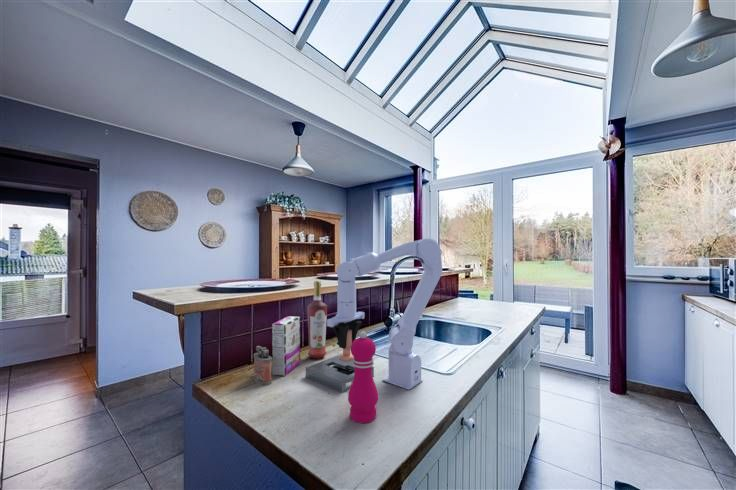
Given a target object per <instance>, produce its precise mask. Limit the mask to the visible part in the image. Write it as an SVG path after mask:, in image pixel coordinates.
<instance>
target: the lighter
mask: <svg viewBox="0 0 736 490" xmlns="http://www.w3.org/2000/svg"><path fill="white" fill-rule="evenodd" d="M255 351H256V352H255V353H253V364H254V365H253V366H254V367H253V371H254V372H253V378H252V379H253V380H254V381H255V382H256V383H257V384H259V385H261V386H265V387H266V386H270V385H272V383H273V382H272V381H273V380H272V356H271V355H269V349H268V348H267V347H266V346H264V347H263V346H260V345H256V347H255Z"/></svg>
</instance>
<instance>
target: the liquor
mask: <svg viewBox="0 0 736 490" xmlns="http://www.w3.org/2000/svg"><path fill="white" fill-rule="evenodd" d="M321 287H322V281H321V280H314V281H313V298H312V299H313V300H312V302H311V303H309V304H308V305H307V328H308V329H307V330H308V352H307V355H308V357H310V358H311V359H313V360H320V359H323V358H324V357H325V356H326V355H327V351H326V337H327V336H326V335H327V319H328V318H327V317H328V316H327V315H328V305H327V304H326V303H325V302H323V301H322V295H321V294H322V293H321V289H322V288H321Z"/></svg>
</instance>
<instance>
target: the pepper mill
mask: <svg viewBox="0 0 736 490" xmlns="http://www.w3.org/2000/svg"><path fill="white" fill-rule="evenodd" d="M367 336H368V334H367V331H364V330H362V331H361V332H360V333H359V337H358V338H357V337H356V339H355V340H354V341H353V343H352V345H351V348H350V353H351V354H352V355H353V356H354V358H353V366H355V374H354V379H353V380H352V381H351V382H352V383H351V385H350V387H349V389H348V395H347V402H348V403H349V405H350V408H349V417H350V419H351V420H352V421H353V422H356V423H358V424H359V423H360V424H366V423H370V422H373V421H374V420H375V419H376V417H377V407H376V405H377V404H378V402H379V392H378V389H377V386H376V383H375V380H374V377H372V366H373V367H374V364H375V363H374V359H375V358H374V355H375V354H376V352H377V351H376V350H377V347H376V343H375V341H373V339H371V338H369V337H367Z"/></svg>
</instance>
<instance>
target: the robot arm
mask: <svg viewBox="0 0 736 490" xmlns="http://www.w3.org/2000/svg"><path fill="white" fill-rule="evenodd" d="M442 253H443V251H442V249H441V247H440V245H439V243H438V242H437V241H436V240H435V239H434V238H430V237H427V238H423V239H418V240H413V241H409V242H405V243H402V244H400V245H397V246H394V247H392V248H389V249H388V250H385V251H383V252H380V253H376V252H373V251H371V252H368V251H365V252H364V253H363V255H361V256H358V257H351V258H349V261H343V262H342V263H340V264H339V265H338V266H337V268H336V276H337V287H336V289H337V291H336V295H337V300H336V301H337V302H336V303H337V310H336V311H337V313H336V314H335V316H333V317H332V318H327V321H326V327H329V328H332V329H333V332H334V333H335V336H336V340H337V342H338V347H339V348H341V349H342V350H343V349H345V348H346V342H347V333H348V329H350V330H352V343H353V341H354V340H355V339H357V336H358V335H357V334H358V332H359V329H360V327H361V325H362V321H361V320H364V319H365V316H366V315H365V314H366V313H365V312H364V311H357V286H356V277H361V276H364V275H368V274H369V273H373V272H376V271H377V270H379V269H380V267H381V265H382V264H383V263H387V262H390V261H393V260H396V259H398V258H401V257H404V256H409V257H410V256H411V257H416V258H417V259H418V260H419V262H420V263H421V266H422V268H423V269H422V270H423V274H422V276H421V278H420V279H419V282H418V284H417V286H416V288H415V289H414V291H413V294H412V296H411V298H410V300H409V301H408V303H407V306H406V308H405V310H404V312H403V313H402V316H401V317H400V318H399V319H398V320H397V323H395V325H394V326H392V327H391V329H390V330H389V332H388V338H389V340H390V346H389V347H388V375H386V376H385V377H384V378H382V381H383V382H386V383H387V384H388V383H389V384H392V385H395V386H398V387H401V388H402V389H406V390H411V389H412V388H414V387H415V386H417V385H418V384H420V383H421V382H423V378H422V360H421V356H420V355H419V354H416V353H415V352H414V351H413V346H414V345H413V344H414V337H415V335H416V333H417V332H416V330H417V326H418V323H419V321H420V319H421V317H422V315H423V313H424V312H425V309H426V306H427V305H428V303H429V301H430V298H431V297H432V295H433V293H434V290H435V289H436V286H437V284H438V283H439V281H440V279H441V277H442V274H443V263H442V255H443V254H442ZM360 319H361V320H360Z"/></svg>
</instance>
